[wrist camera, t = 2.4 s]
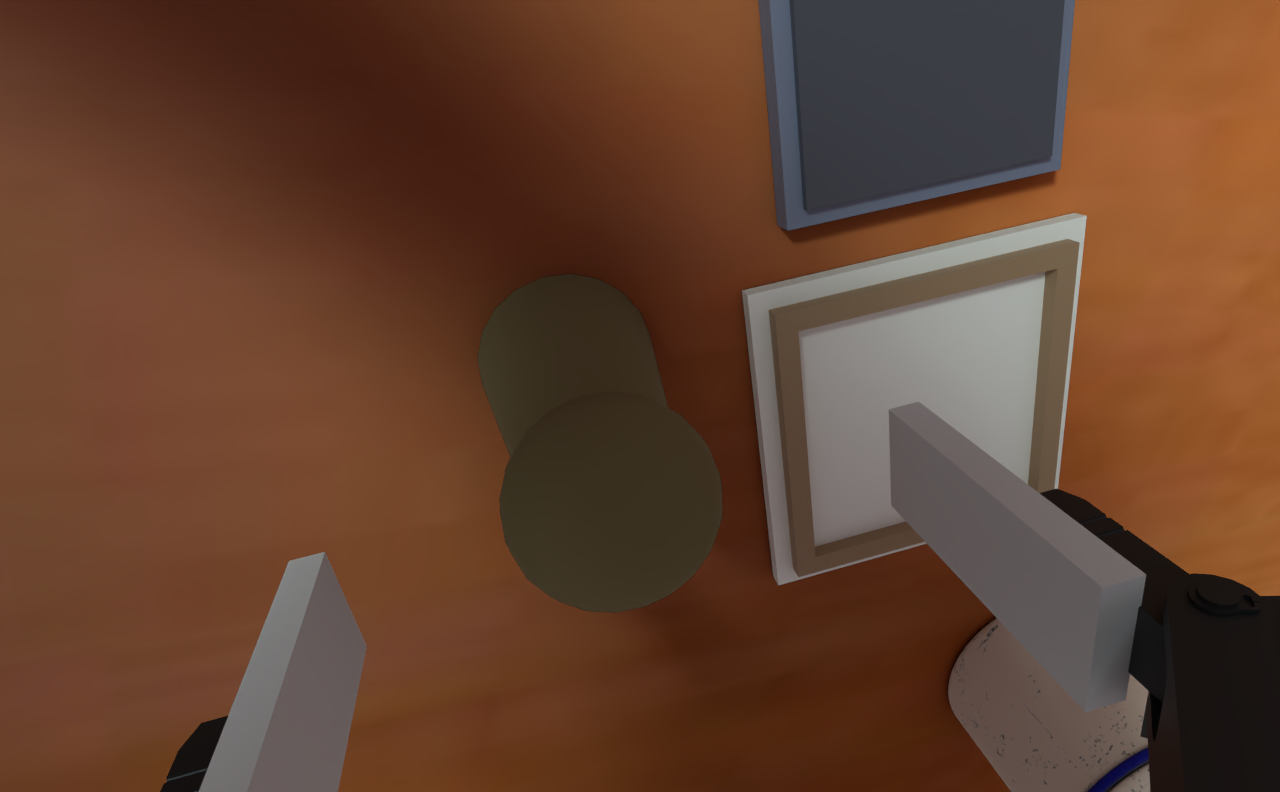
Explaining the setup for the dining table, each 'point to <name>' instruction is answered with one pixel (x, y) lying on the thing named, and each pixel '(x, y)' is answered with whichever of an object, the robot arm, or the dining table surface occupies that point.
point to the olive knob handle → (594, 449)
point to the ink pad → (909, 99)
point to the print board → (907, 379)
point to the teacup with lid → (1045, 722)
